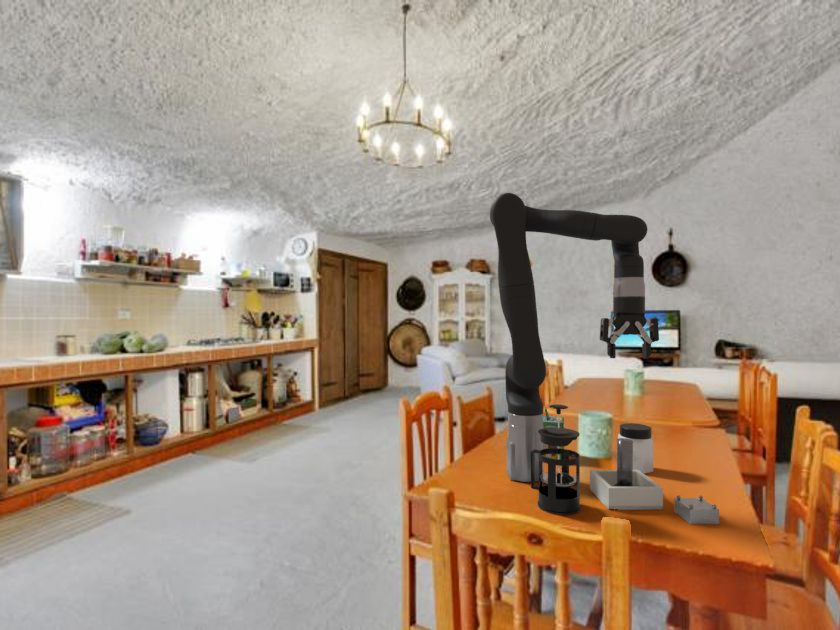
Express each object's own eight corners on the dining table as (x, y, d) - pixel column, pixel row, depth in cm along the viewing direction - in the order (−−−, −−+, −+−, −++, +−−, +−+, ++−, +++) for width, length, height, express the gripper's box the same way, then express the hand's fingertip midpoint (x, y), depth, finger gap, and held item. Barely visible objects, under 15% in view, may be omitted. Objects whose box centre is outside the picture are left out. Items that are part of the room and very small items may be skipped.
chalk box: (564, 462, 137) (564, 412, 137) (532, 459, 140) (532, 410, 140) (565, 453, 145) (564, 406, 145) (535, 450, 148) (534, 404, 148)
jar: (616, 470, 129) (616, 427, 129) (619, 462, 136) (619, 421, 136) (652, 476, 124) (652, 431, 124) (654, 467, 131) (653, 425, 131)
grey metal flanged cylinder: (618, 499, 107) (619, 442, 107) (611, 491, 112) (611, 437, 112) (638, 499, 107) (639, 443, 107) (630, 491, 112) (630, 437, 112)
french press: (589, 505, 106) (588, 404, 106) (576, 520, 98) (575, 411, 98) (539, 493, 113) (539, 399, 113) (523, 506, 105) (523, 405, 105)
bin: (608, 509, 103) (608, 488, 103) (589, 489, 115) (589, 470, 115) (663, 509, 103) (662, 488, 103) (638, 489, 115) (638, 470, 115)
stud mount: (689, 523, 96) (689, 505, 96) (674, 511, 102) (674, 494, 102) (719, 523, 96) (719, 505, 96) (701, 511, 102) (701, 494, 102)
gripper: (606, 295, 117) (607, 359, 117) (664, 294, 116) (664, 359, 116) (595, 296, 124) (596, 356, 124) (649, 296, 124) (649, 356, 124)
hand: (629, 358), depth 120 cm, fingers open, 8 cm apart
